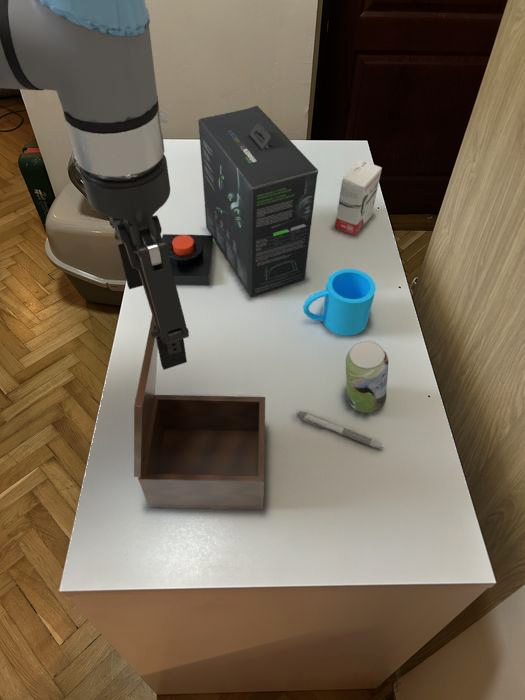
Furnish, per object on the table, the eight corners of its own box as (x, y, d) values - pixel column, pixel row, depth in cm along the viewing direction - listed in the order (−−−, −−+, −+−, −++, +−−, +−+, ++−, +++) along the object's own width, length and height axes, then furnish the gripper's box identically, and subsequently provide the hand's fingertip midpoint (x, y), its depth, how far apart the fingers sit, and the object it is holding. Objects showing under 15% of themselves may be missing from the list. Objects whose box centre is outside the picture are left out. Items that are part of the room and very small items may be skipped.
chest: (264, 429, 80) (265, 396, 73) (263, 509, 72) (264, 481, 66) (161, 427, 80) (152, 394, 73) (148, 507, 72) (137, 479, 66)
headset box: (307, 281, 101) (321, 157, 80) (250, 300, 97) (249, 176, 77) (256, 214, 113) (257, 92, 93) (204, 229, 110) (193, 106, 90)
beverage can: (389, 413, 82) (406, 366, 73) (343, 419, 82) (354, 373, 72) (377, 380, 86) (392, 332, 77) (333, 386, 85) (342, 338, 76)
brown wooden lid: (159, 313, 61) (152, 312, 60) (142, 407, 53) (134, 406, 53) (155, 392, 73) (149, 392, 73) (140, 477, 65) (133, 477, 65)
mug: (360, 299, 98) (367, 266, 91) (373, 332, 93) (382, 300, 86) (296, 306, 96) (299, 273, 90) (306, 340, 91) (310, 308, 85)
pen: (297, 412, 82) (297, 407, 81) (383, 447, 79) (385, 443, 77) (294, 417, 82) (295, 412, 81) (381, 453, 78) (383, 448, 77)
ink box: (354, 237, 109) (363, 187, 100) (333, 228, 111) (340, 178, 101) (372, 215, 114) (383, 166, 104) (352, 207, 115) (361, 158, 106)
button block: (155, 284, 100) (152, 268, 96) (164, 242, 107) (161, 226, 104) (208, 285, 100) (207, 269, 96) (213, 243, 107) (212, 227, 104)
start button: (172, 255, 99) (170, 248, 98) (174, 241, 102) (173, 234, 100) (193, 256, 99) (192, 249, 98) (195, 242, 102) (194, 235, 100)
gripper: (215, 231, 40) (225, 391, 57) (125, 88, 54) (154, 249, 71) (117, 258, 38) (157, 415, 54) (50, 101, 52) (98, 264, 69)
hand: (155, 321), depth 63 cm, fingers open, 13 cm apart
